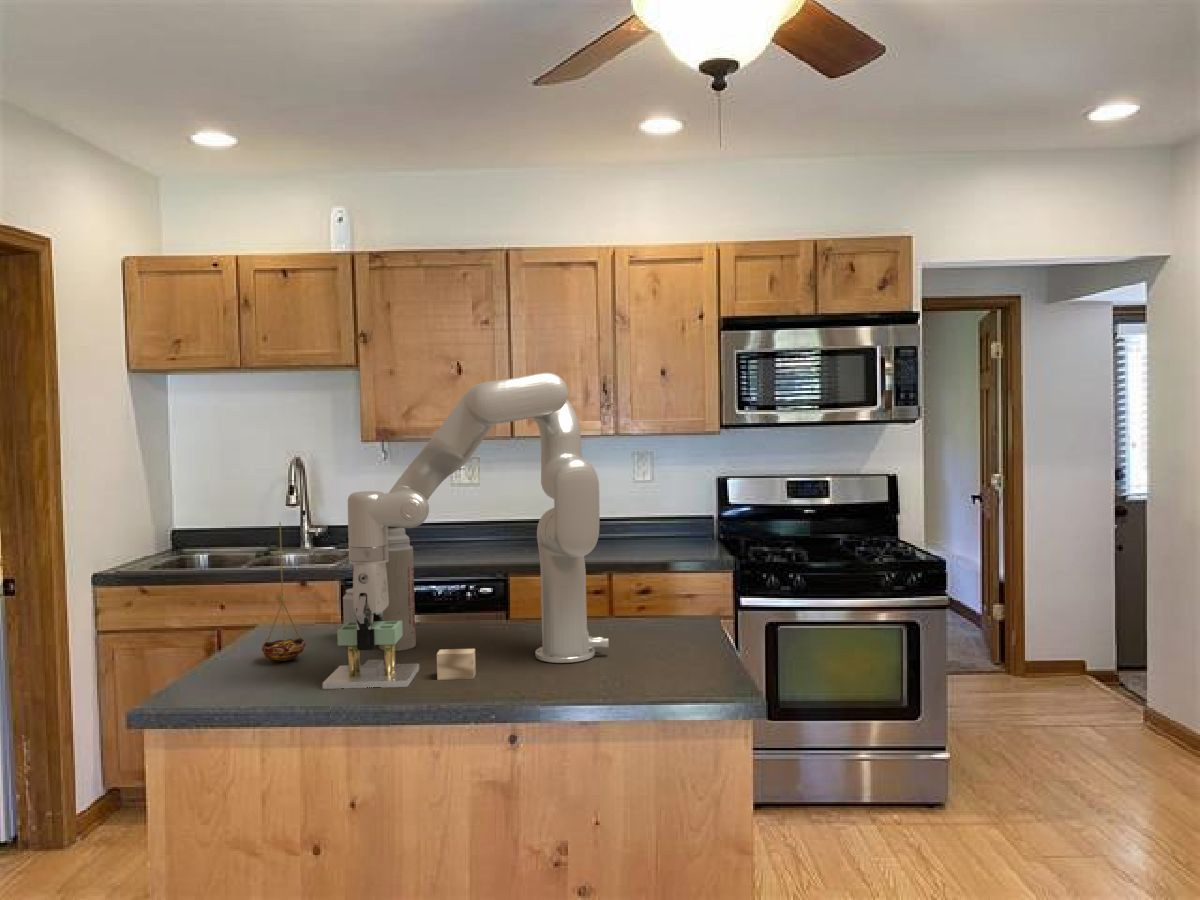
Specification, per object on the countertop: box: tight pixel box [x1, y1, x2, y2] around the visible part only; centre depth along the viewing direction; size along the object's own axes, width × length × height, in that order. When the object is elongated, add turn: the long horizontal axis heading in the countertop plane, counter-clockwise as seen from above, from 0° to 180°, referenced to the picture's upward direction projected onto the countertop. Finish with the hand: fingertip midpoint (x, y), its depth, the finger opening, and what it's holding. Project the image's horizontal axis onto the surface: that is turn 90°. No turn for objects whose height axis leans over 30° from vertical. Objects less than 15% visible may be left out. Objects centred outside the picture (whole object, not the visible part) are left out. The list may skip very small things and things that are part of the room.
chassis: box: [322, 644, 420, 690], centre depth 175 cm, size 16×12×7 cm
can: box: [342, 587, 369, 625], centre depth 207 cm, size 8×8×12 cm
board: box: [336, 621, 403, 646], centre depth 175 cm, size 11×7×3 cm, turn 91°
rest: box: [436, 648, 477, 681], centre depth 175 cm, size 7×4×5 cm, turn 91°
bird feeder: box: [261, 521, 307, 663], centre depth 190 cm, size 9×9×30 cm
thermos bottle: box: [378, 527, 416, 652], centre depth 200 cm, size 8×8×28 cm
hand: (370, 644), depth 175 cm, fingers closed on board, 7 cm apart
